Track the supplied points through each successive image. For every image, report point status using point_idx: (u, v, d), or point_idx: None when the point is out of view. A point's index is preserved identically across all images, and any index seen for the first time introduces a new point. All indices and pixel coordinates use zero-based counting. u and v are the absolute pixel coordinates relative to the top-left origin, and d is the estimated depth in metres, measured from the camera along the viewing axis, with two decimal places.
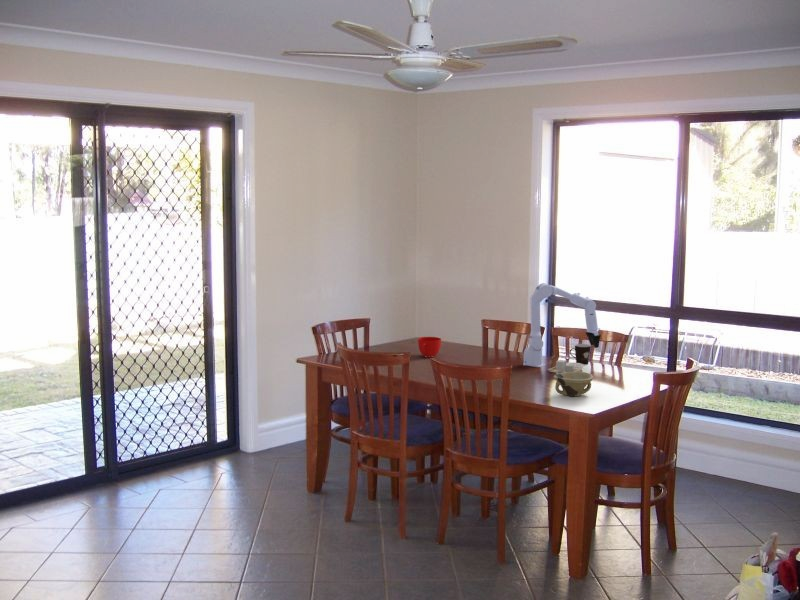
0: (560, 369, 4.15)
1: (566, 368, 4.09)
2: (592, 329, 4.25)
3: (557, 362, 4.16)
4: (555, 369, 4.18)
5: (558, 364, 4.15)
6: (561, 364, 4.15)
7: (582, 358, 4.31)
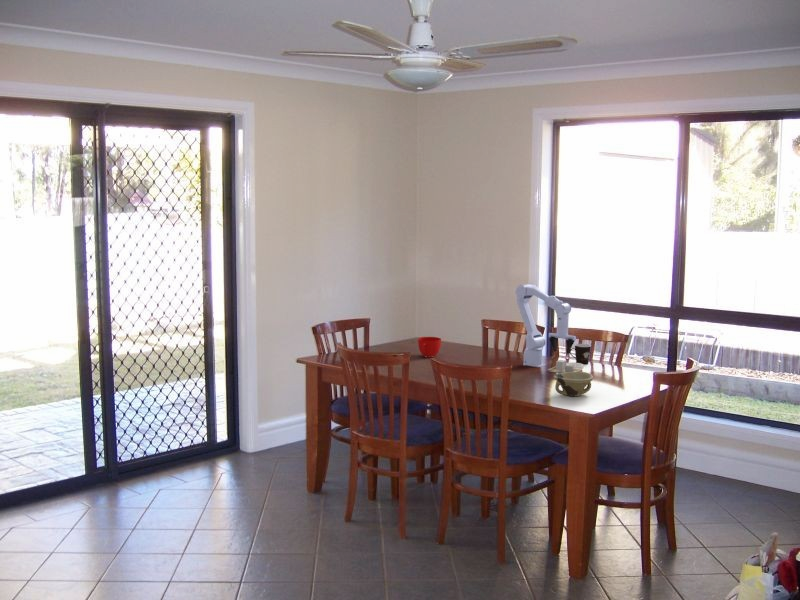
0: (560, 369, 4.15)
1: (566, 368, 4.09)
2: None
3: (557, 362, 4.16)
4: (555, 369, 4.18)
5: (558, 364, 4.15)
6: (561, 364, 4.15)
7: (582, 358, 4.31)
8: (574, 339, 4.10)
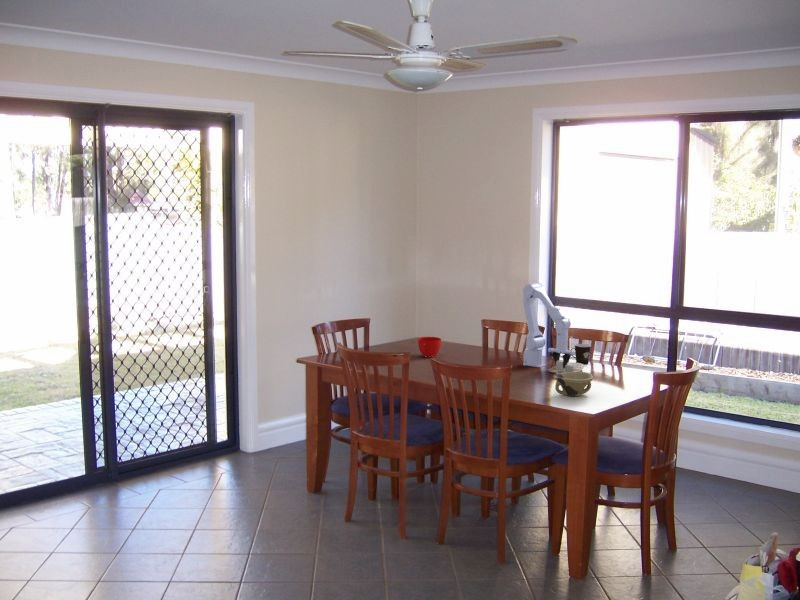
0: (560, 369, 4.15)
1: (566, 368, 4.09)
2: None
3: (557, 362, 4.16)
4: (555, 369, 4.18)
5: (558, 364, 4.15)
6: (561, 364, 4.15)
7: (582, 358, 4.31)
8: (573, 354, 4.11)
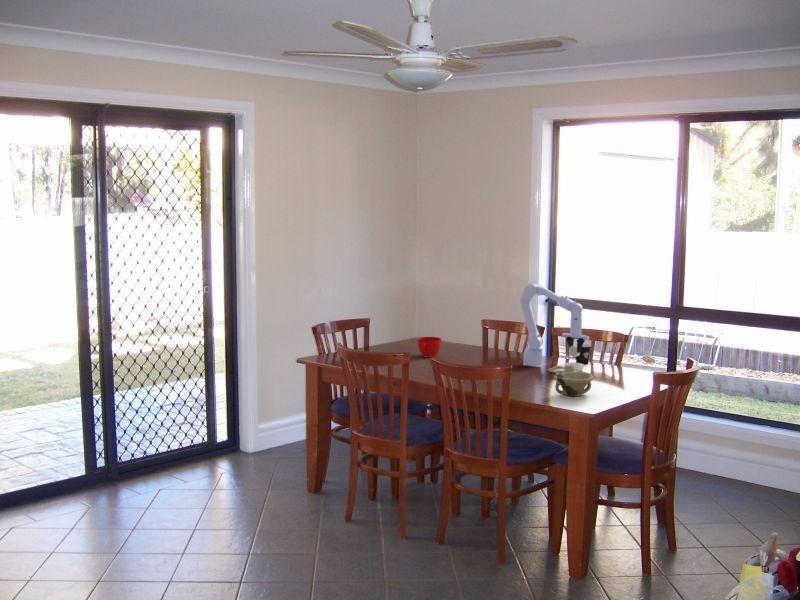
0: (574, 355, 4.19)
1: (566, 368, 4.09)
2: None
3: (571, 348, 4.20)
4: (555, 369, 4.18)
5: (572, 350, 4.20)
6: (575, 350, 4.19)
7: (582, 358, 4.31)
8: (587, 339, 4.16)
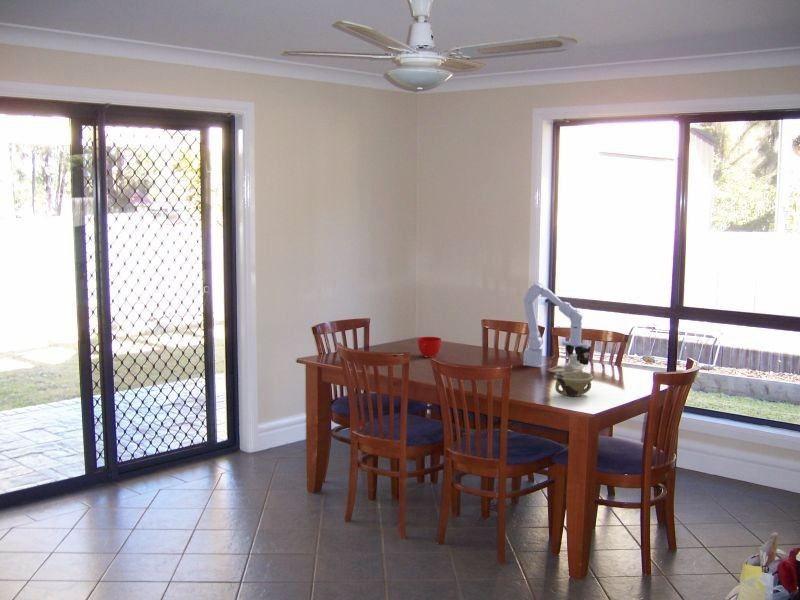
0: (573, 363, 4.20)
1: (566, 368, 4.09)
2: None
3: (570, 356, 4.21)
4: (555, 369, 4.18)
5: (572, 358, 4.20)
6: (574, 358, 4.19)
7: (582, 358, 4.31)
8: (587, 347, 4.16)
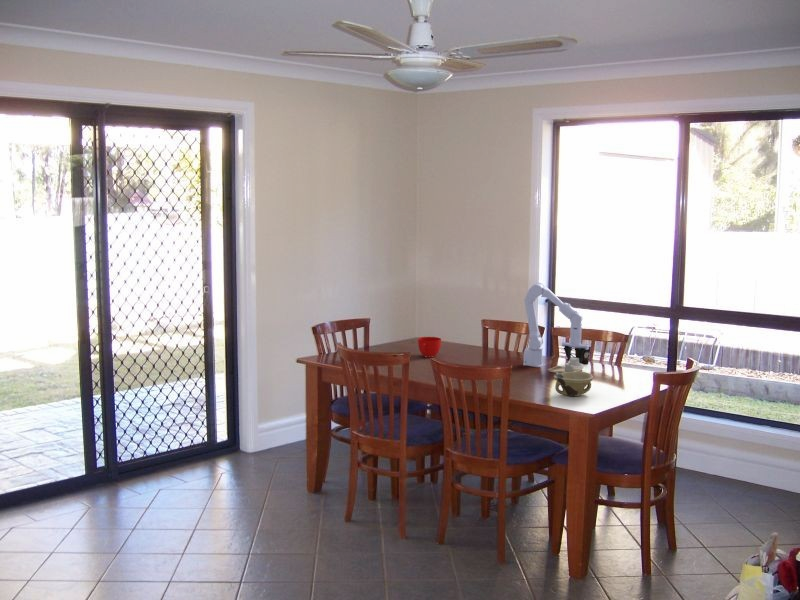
0: None
1: (566, 368, 4.09)
2: None
3: (570, 360, 4.21)
4: (555, 369, 4.18)
5: (572, 362, 4.21)
6: (574, 362, 4.20)
7: None
8: (587, 348, 4.17)
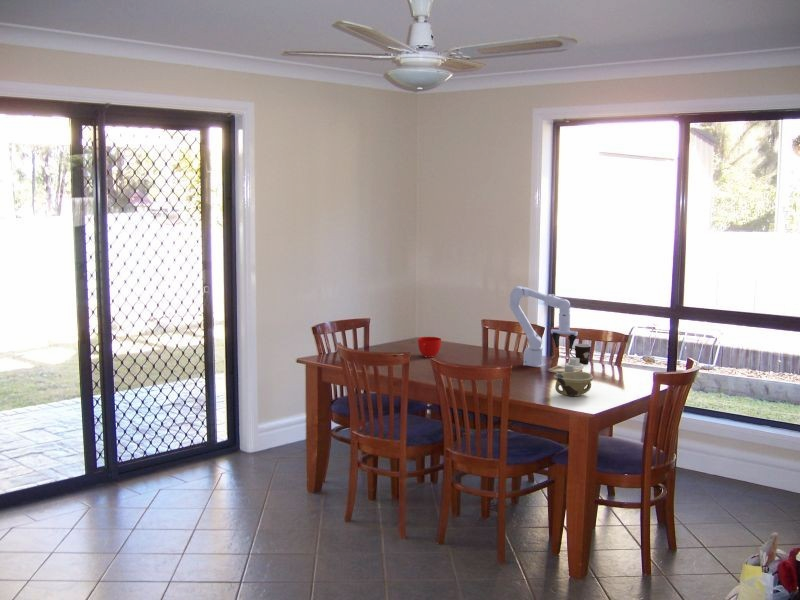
0: None
1: (566, 368, 4.09)
2: None
3: (570, 360, 4.21)
4: (555, 369, 4.18)
5: (572, 362, 4.21)
6: (574, 362, 4.20)
7: (582, 358, 4.31)
8: (576, 335, 4.19)
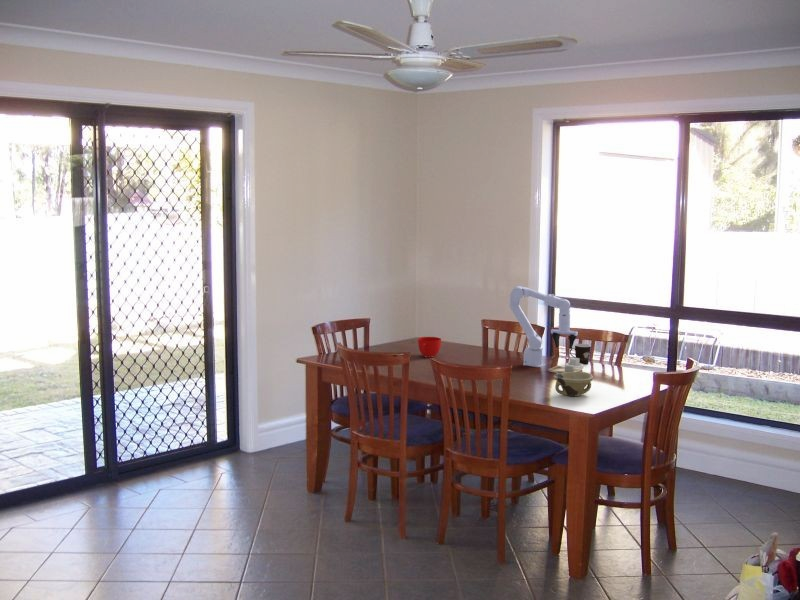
0: None
1: (566, 368, 4.09)
2: None
3: (570, 360, 4.21)
4: (555, 369, 4.18)
5: (572, 362, 4.21)
6: (574, 362, 4.20)
7: (582, 358, 4.31)
8: (576, 335, 4.19)
